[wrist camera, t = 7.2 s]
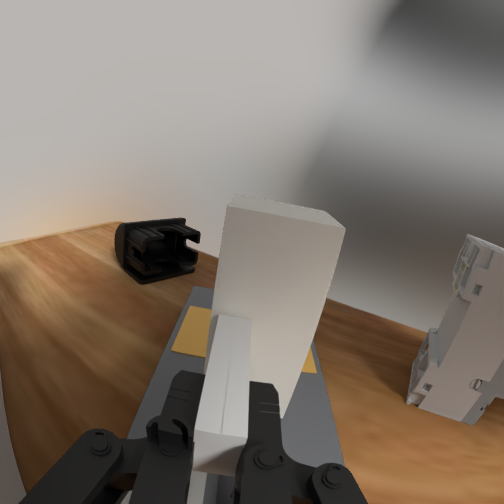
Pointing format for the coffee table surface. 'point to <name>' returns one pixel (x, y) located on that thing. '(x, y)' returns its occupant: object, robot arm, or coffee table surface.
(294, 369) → the slider tab
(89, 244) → the coffee table surface
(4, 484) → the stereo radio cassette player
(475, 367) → the circuit breaker
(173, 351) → the grey flat board
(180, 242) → the end cap
